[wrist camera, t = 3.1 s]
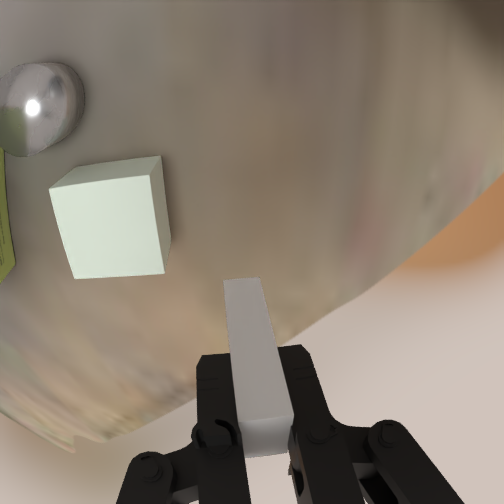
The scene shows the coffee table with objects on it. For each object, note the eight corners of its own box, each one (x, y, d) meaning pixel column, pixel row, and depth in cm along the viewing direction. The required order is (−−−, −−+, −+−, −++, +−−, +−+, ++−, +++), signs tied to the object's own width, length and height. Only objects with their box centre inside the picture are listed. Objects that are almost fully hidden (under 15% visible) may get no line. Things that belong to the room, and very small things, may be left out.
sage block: (76, 166, 22) (48, 188, 17) (161, 154, 22) (149, 175, 18) (93, 245, 25) (74, 279, 21) (171, 238, 26) (164, 273, 22)
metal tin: (13, 75, 17) (-16, 79, 13) (82, 53, 17) (58, 51, 14) (23, 150, 20) (-3, 165, 17) (90, 134, 20) (68, 147, 17)
